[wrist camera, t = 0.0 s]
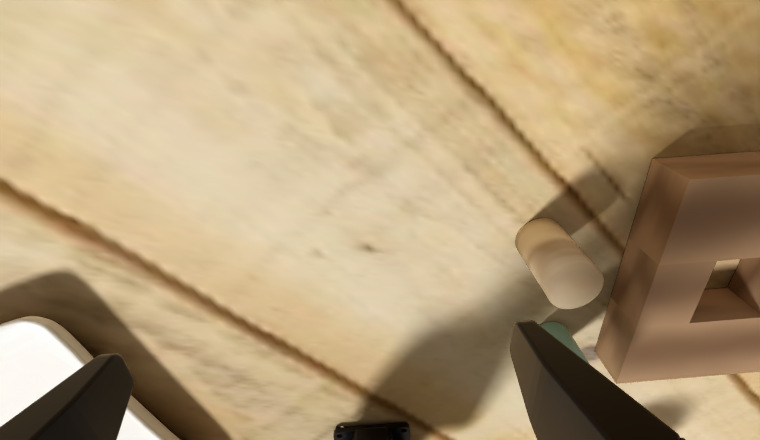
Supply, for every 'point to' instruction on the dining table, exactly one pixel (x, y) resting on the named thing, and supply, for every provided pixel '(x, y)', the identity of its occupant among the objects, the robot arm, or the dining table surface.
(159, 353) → the dining table surface
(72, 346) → the salad plate
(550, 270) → the short beech pin
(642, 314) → the walnut hole block
